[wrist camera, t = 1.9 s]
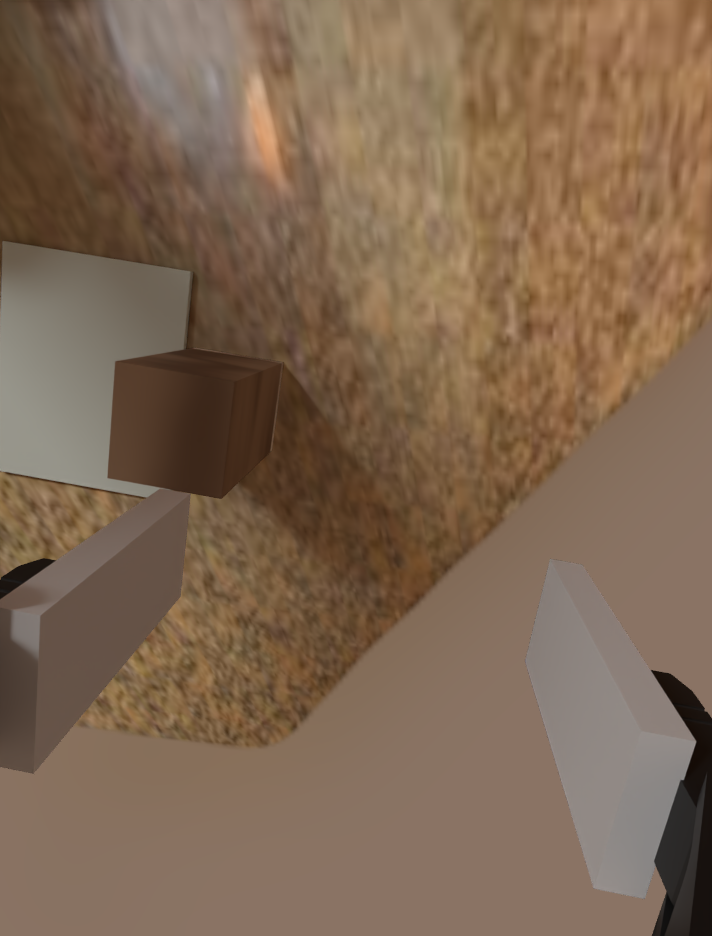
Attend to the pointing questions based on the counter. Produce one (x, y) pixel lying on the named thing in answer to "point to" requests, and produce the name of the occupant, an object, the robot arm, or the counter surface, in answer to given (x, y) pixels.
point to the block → (192, 419)
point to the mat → (76, 355)
